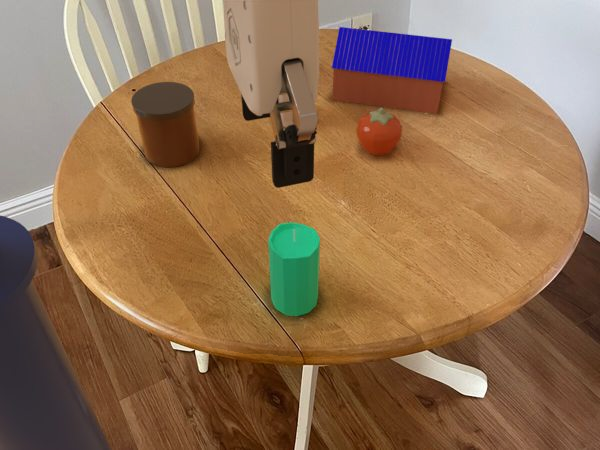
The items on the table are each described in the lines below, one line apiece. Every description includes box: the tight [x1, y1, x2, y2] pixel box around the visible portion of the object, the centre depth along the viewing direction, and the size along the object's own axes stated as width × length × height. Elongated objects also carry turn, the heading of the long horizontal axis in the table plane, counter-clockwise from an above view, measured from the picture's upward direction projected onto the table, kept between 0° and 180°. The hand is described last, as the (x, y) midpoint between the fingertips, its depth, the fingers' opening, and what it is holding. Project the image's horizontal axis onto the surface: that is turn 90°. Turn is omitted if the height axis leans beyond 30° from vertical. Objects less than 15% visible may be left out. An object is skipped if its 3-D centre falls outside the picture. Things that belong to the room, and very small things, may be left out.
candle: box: [267, 221, 321, 317], centre depth 71 cm, size 6×6×12 cm
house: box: [331, 26, 453, 115], centre depth 108 cm, size 12×20×12 cm, turn 76°
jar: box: [130, 81, 201, 168], centre depth 94 cm, size 10×10×10 cm
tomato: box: [355, 107, 403, 157], centre depth 95 cm, size 7×7×8 cm
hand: (275, 147), depth 49 cm, fingers open, 9 cm apart
